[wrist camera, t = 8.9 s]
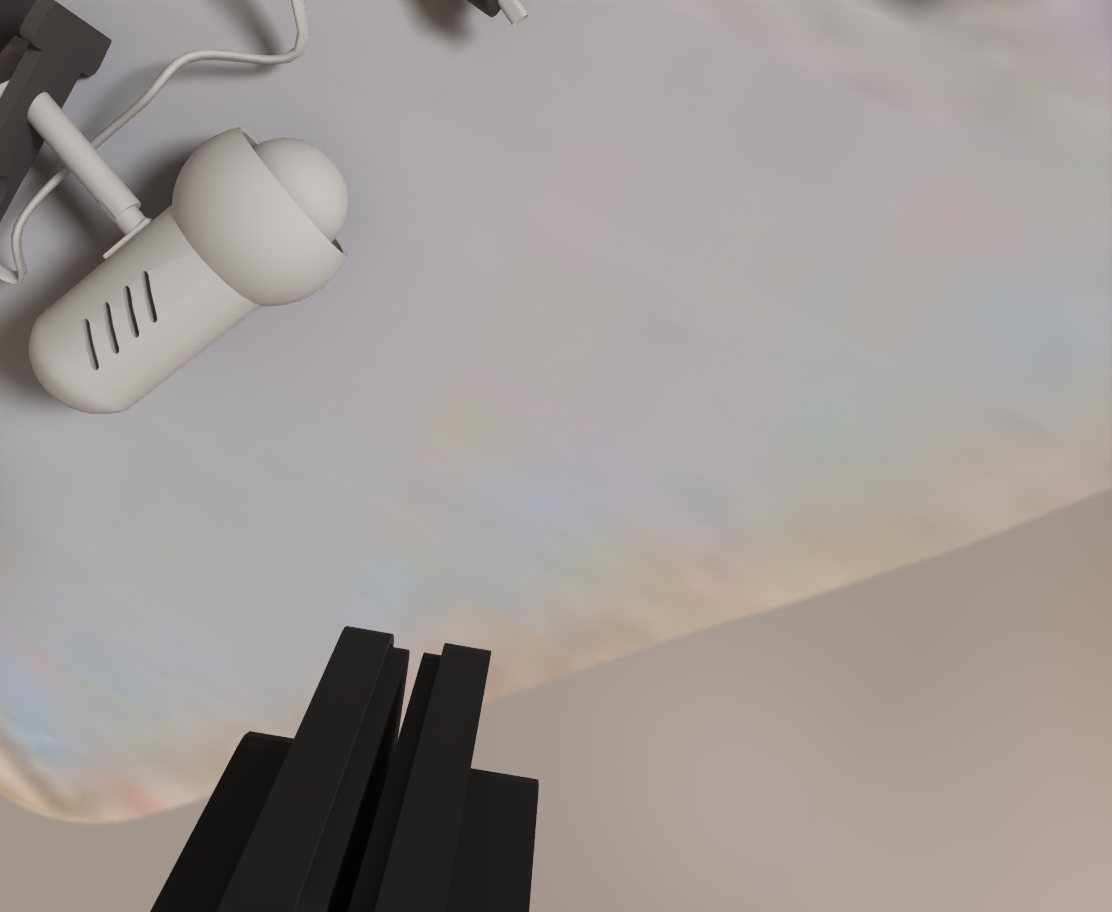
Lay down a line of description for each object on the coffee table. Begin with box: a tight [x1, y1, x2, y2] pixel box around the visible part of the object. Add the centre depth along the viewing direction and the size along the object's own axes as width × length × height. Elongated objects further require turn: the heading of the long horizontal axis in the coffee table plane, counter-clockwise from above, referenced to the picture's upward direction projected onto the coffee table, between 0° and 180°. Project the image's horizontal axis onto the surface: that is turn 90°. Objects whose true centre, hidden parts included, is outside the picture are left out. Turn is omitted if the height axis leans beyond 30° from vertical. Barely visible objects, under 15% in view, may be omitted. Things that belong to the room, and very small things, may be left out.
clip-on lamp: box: [0, 0, 528, 414], centre depth 27 cm, size 12×6×18 cm
